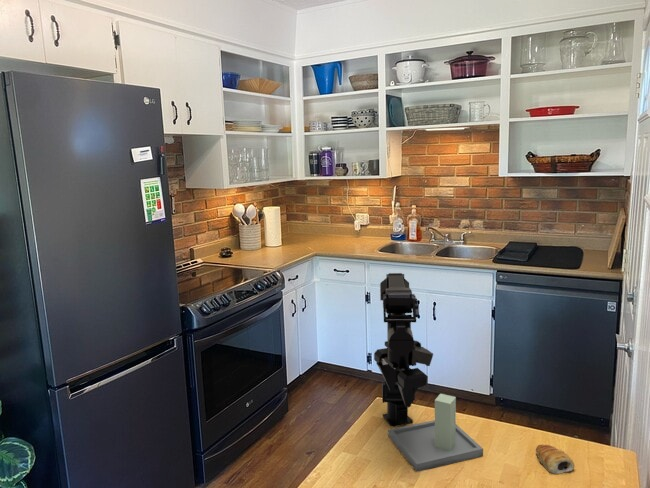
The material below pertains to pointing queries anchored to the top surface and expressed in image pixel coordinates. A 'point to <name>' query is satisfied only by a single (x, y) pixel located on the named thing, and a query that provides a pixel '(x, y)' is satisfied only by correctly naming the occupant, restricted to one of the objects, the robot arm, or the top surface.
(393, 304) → the robot arm
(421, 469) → the tray
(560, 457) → the pastry
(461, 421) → the top surface
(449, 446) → the block
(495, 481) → the top surface
